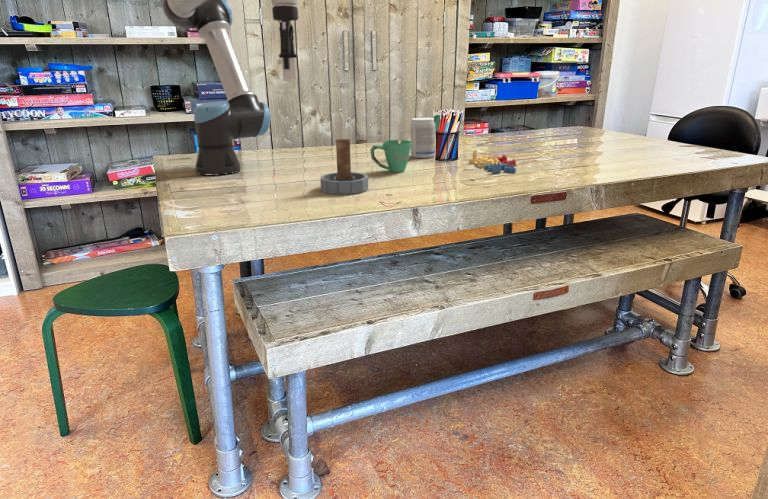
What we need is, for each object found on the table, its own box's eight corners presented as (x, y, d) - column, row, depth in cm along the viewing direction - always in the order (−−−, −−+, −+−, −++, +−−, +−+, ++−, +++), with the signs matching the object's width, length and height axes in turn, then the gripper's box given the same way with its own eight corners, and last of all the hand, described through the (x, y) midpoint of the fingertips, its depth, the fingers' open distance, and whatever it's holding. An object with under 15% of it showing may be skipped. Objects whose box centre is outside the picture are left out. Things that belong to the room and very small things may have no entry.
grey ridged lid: (320, 195, 155) (319, 182, 153) (322, 184, 168) (321, 172, 167) (369, 194, 156) (368, 181, 154) (367, 183, 169) (366, 171, 167)
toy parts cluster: (452, 153, 221) (452, 140, 219) (484, 152, 223) (485, 139, 222) (492, 175, 179) (492, 159, 178) (531, 173, 182) (533, 158, 180)
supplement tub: (440, 156, 213) (440, 118, 208) (423, 159, 207) (424, 120, 202) (421, 153, 219) (422, 116, 214) (405, 156, 213) (405, 118, 208)
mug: (404, 167, 193) (404, 139, 189) (416, 172, 184) (416, 142, 181) (366, 171, 187) (365, 141, 184) (376, 176, 179) (375, 145, 176)
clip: (334, 188, 159) (333, 179, 158) (334, 185, 163) (333, 176, 162) (355, 188, 160) (354, 179, 159) (354, 184, 164) (354, 175, 163)
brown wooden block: (337, 187, 160) (335, 140, 156) (337, 186, 162) (336, 139, 158) (351, 187, 161) (349, 139, 156) (351, 185, 163) (349, 138, 158)
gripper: (293, 2, 151) (298, 81, 158) (300, 9, 174) (304, 78, 182) (266, 2, 150) (273, 81, 158) (277, 9, 174) (282, 78, 181)
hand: (289, 80), depth 170 cm, fingers open, 13 cm apart
